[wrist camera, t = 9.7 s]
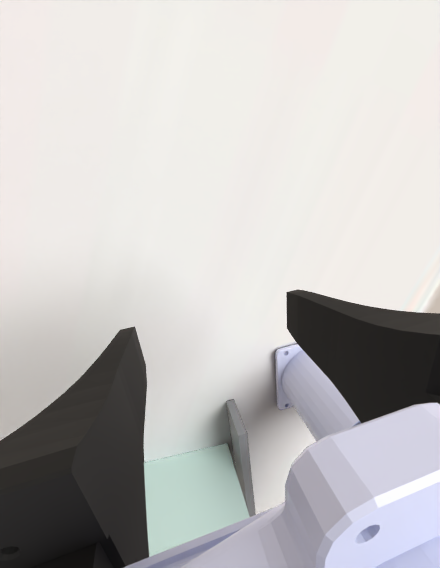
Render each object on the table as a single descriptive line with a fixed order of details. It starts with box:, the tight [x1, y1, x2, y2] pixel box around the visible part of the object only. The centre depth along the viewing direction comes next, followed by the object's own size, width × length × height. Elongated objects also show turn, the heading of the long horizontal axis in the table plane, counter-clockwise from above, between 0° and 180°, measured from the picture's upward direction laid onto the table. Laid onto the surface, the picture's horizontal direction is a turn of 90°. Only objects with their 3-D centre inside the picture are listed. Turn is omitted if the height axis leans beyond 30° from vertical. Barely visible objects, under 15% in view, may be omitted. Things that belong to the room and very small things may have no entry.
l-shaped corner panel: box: [144, 443, 250, 557], centre depth 26 cm, size 12×12×8 cm
